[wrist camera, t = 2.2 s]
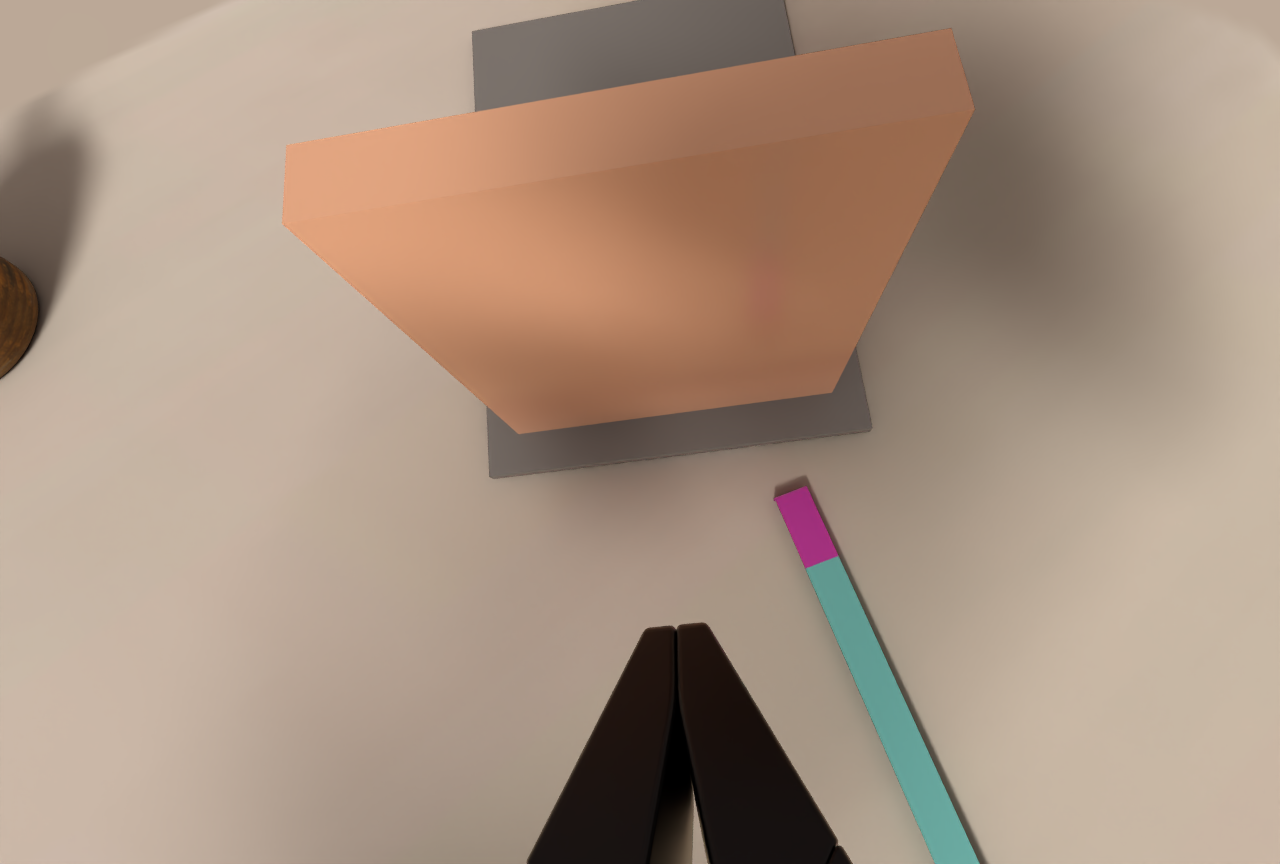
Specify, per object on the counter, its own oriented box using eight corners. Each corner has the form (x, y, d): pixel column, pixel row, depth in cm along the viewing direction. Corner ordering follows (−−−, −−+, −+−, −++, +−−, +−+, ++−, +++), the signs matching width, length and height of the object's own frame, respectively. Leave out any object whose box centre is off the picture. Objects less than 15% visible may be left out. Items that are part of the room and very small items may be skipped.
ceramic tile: (832, 392, 20) (975, 109, 9) (518, 434, 21) (282, 224, 10) (823, 345, 21) (947, 16, 9) (516, 387, 22) (286, 134, 10)
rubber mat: (869, 431, 20) (872, 427, 20) (493, 478, 21) (489, 476, 21) (777, -17, 25) (778, -26, 25) (475, 40, 26) (472, 31, 26)
